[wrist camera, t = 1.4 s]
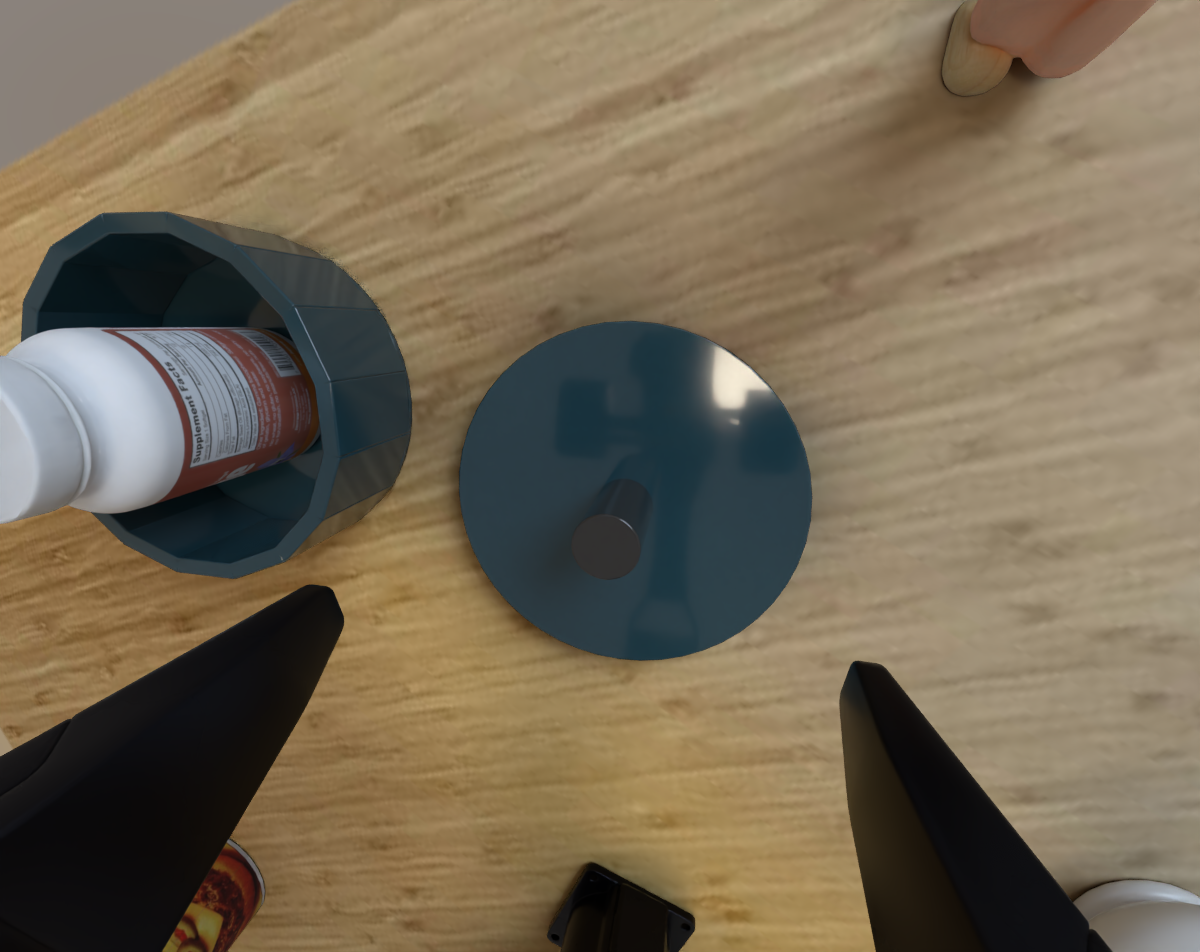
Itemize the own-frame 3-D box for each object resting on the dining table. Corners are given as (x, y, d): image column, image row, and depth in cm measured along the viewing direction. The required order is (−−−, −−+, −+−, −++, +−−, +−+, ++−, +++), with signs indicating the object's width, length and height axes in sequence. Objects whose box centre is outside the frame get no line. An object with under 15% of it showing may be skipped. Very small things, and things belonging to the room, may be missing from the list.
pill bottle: (224, 451, 26) (-94, 534, 16) (207, 322, 25) (-163, 319, 14) (337, 466, 25) (77, 565, 15) (327, 332, 24) (27, 337, 13)
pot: (367, 576, 27) (291, 632, 22) (136, 458, 28) (12, 487, 23) (451, 315, 23) (379, 312, 18) (173, 184, 23) (30, 146, 18)
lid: (704, 698, 25) (704, 797, 20) (429, 559, 26) (358, 619, 21) (881, 418, 21) (942, 450, 15) (537, 259, 21) (482, 238, 16)
